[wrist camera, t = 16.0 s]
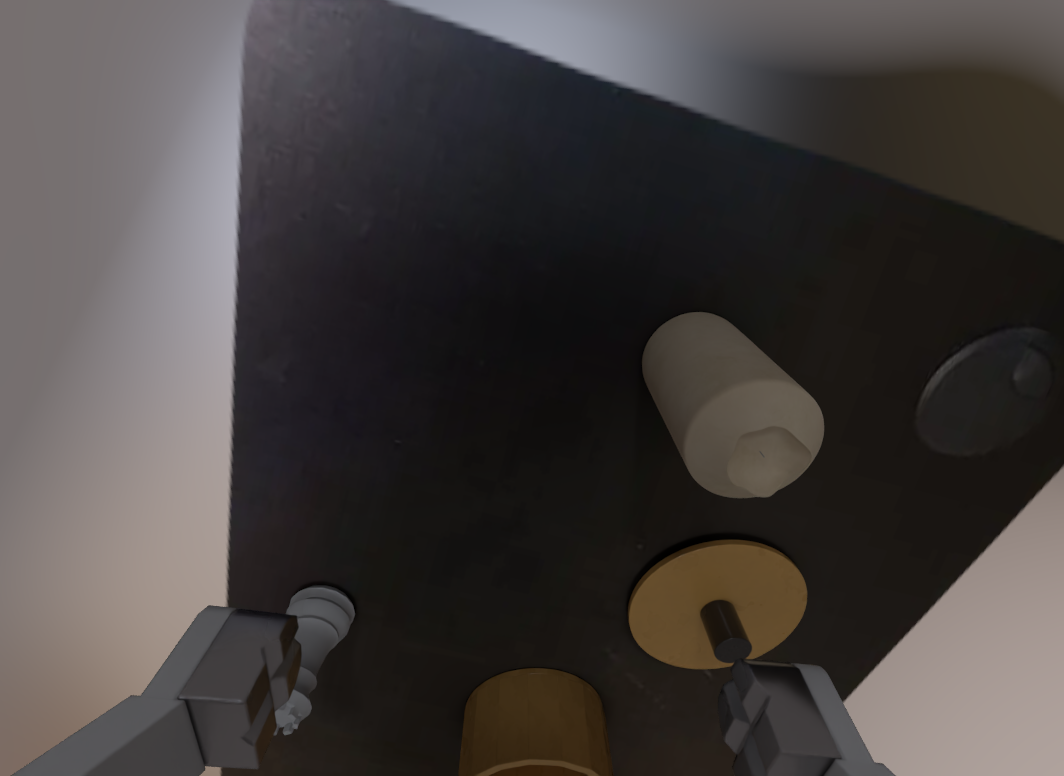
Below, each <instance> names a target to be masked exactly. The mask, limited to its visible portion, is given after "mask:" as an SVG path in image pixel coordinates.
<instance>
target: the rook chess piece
mask: <svg viewBox="0 0 1064 776" xmlns="http://www.w3.org/2000/svg"><path fill="white" fill-rule="evenodd" d="M286 614H288V615H297V620H298V626H299V629H298V631H297V633H296V635H295V637H294V638H295V639H296V640H297V641H298V642H299V643H300V644H301V650H302V657H301V666H300V670H299V673H298V677H297V681H296V684H295V687H294V689H293V691H292V694H291V696H290V698H289V701H287V702H286V703H285V704H284V705H282V706H281V707H280V708H279V709H278V710H276V711H275V717H276V723H277V728H276V730H275V733H274V735H276V734H277V732H278V730H279V727H285V728H284V730H283V733H284V735H287V734H290V733H292V732H293V729H294V728H295V729H297V728H298V725H299V722H300V721H301V720H303V719H304V718H305V717H306V716H308V715H309V714H310V712H311V709H312V707H311V703H310V700H309V697H308V695H309V693H310V692H311V691H312V690H313V689H315V687H316V684H317V680H316V675H317V673H318V670H319V668H320V667H321V665H322V663H323V661H324V659H325V657H326V656H327V654H328V652H329V651H330V650H331V649H332V648H333V647H335V646H336V645H337V643H338V642H339V641H341V640H342V639H343V638H344V637H345V636H346V634H347V633H348V630H349V627H350V624H351V623H352V622H353V619H354V616H355V611H354V607H353V604H352V602H351V600H350V599H349V598H348V597H347V595H346V594H345V593H343V592H342V591H340V590H338V589H337V588H334V587H330V586H326V585H315V586H311V587H308V588H306V589H303V590H301V591H299V592H298V593H297V594H296V595H294V596H293V597H292V598H291V602H290V606H289V608H288V609H287V612H286Z"/></svg>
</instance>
